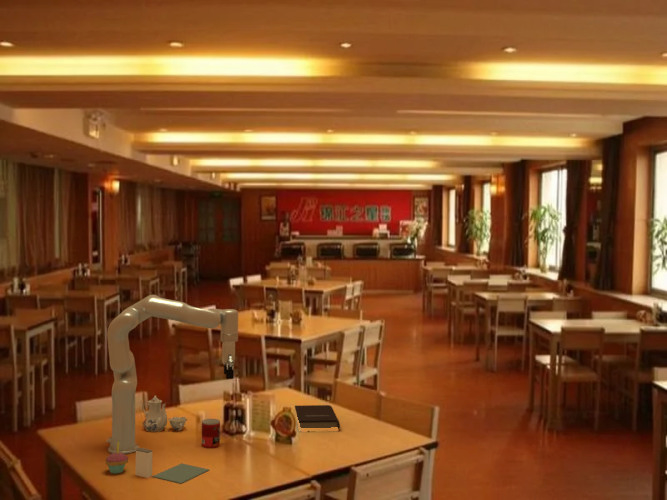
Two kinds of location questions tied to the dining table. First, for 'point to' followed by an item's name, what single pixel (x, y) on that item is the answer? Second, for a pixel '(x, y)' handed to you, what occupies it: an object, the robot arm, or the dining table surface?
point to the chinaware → (160, 417)
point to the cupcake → (116, 461)
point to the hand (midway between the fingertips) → (228, 376)
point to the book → (316, 416)
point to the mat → (181, 473)
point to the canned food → (210, 433)
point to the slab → (143, 462)
